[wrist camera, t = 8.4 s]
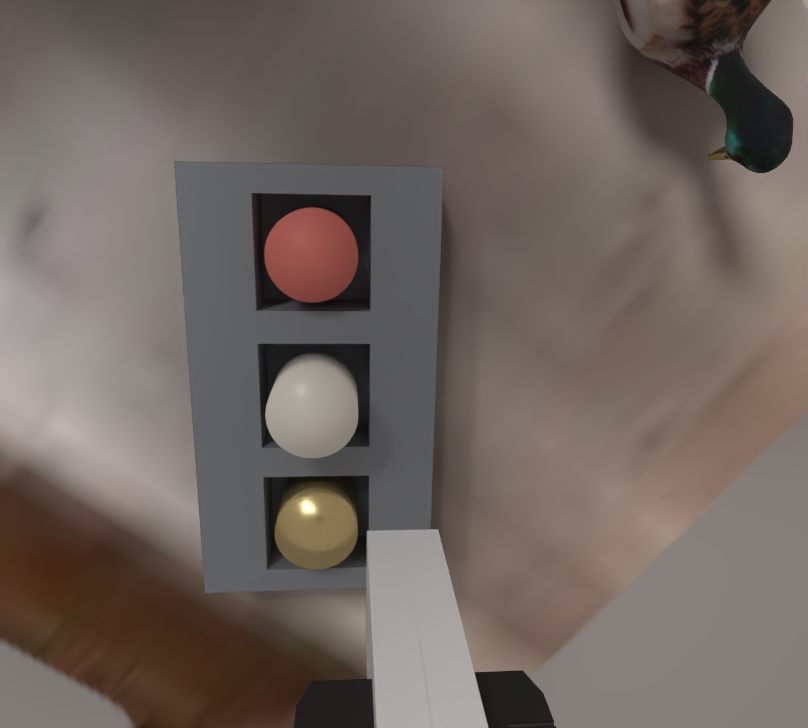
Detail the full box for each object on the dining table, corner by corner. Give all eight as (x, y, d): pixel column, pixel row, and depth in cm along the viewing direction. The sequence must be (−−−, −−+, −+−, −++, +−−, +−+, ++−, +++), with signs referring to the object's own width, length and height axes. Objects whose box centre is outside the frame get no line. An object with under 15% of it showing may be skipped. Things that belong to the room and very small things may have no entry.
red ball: (274, 289, 33) (265, 302, 30) (271, 204, 32) (262, 207, 29) (357, 290, 33) (358, 302, 30) (357, 206, 32) (358, 209, 29)
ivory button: (275, 430, 33) (267, 458, 30) (272, 351, 32) (263, 371, 29) (357, 430, 34) (358, 457, 30) (357, 351, 33) (358, 371, 29)
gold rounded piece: (282, 535, 37) (276, 570, 34) (280, 466, 36) (273, 496, 32) (357, 533, 37) (357, 568, 34) (357, 465, 36) (357, 495, 33)
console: (219, 551, 39) (205, 593, 35) (194, 163, 33) (173, 161, 29) (421, 546, 40) (428, 586, 36) (432, 168, 34) (443, 167, 30)
